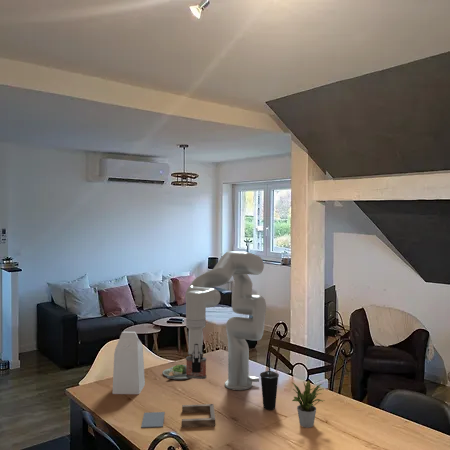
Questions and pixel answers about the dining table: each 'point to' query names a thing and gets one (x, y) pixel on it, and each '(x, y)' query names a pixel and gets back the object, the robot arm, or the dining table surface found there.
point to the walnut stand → (200, 421)
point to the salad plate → (176, 372)
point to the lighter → (189, 367)
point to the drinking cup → (269, 388)
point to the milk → (128, 365)
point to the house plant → (307, 405)
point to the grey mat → (153, 420)
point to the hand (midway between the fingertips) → (196, 369)
